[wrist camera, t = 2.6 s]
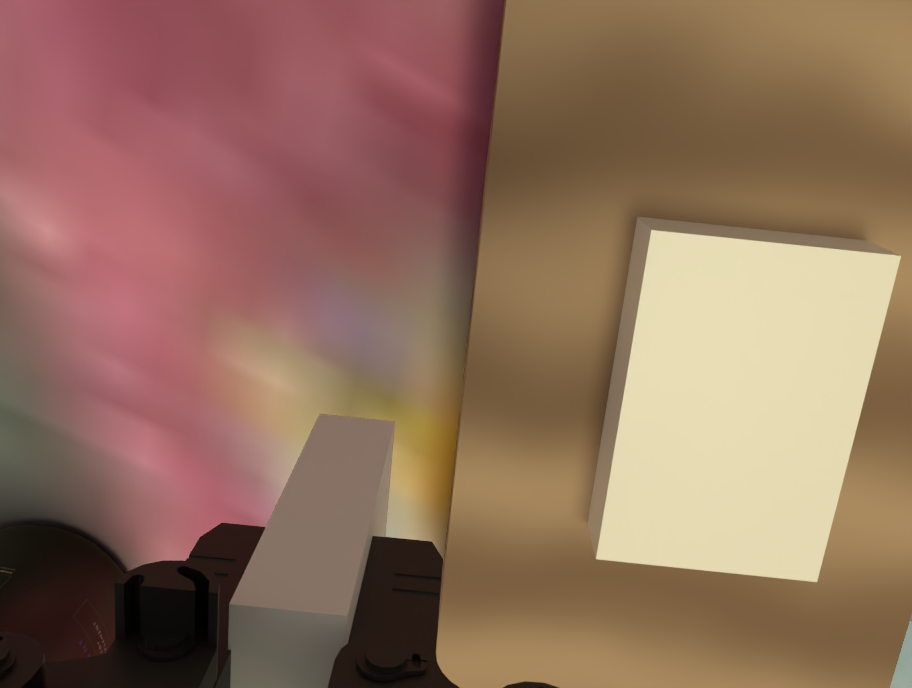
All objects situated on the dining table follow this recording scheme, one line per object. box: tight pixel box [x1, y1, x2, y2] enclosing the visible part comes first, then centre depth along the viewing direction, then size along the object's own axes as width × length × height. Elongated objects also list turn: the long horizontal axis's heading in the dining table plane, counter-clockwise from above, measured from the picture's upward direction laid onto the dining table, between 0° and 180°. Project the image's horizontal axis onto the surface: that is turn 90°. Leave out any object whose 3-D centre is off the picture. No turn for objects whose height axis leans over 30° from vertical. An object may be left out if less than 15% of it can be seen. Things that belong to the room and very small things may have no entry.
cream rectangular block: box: [588, 217, 901, 582], centre depth 23 cm, size 9×6×2 cm, turn 174°
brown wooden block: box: [436, 0, 912, 688], centre depth 26 cm, size 22×14×4 cm, turn 174°
